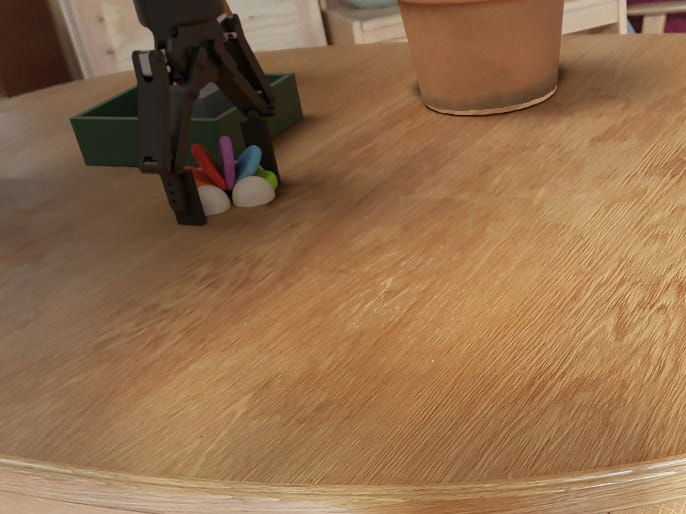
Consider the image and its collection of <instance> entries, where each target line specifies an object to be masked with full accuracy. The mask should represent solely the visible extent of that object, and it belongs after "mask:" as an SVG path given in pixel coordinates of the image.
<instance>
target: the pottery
mask: <svg viewBox="0 0 686 514" xmlns="http://www.w3.org/2000/svg"><path fill="white" fill-rule="evenodd" d="M396 1H397V6H398V9H399V13H400V16H401V21H402V25H403V28H404V32H405V36H406V39H407V44H408V47H409V48H408V49H409V51H410V55H411V59H412V63H413V66H414V67H413V68H414V71H415V75H416V79H417V82H418V85H419V86H418V87H419V90H420V94H421V99H422V98H423V100H422V102H423V101H424V102H423V104H424V103H425V104H427V105H429V106H431V107H434V108H436V109H442V110H443V109H445V110H453V111H469V110H484V109H495V108H504V107H508V106H513V105H518V104H523V103H527V102H530V101H532V100H535V99H538V98H541V97H544V96H545V95H547V94H548V93H550V92H551V91H553V90H554V89H555V87H556V85H557V83H558V79H559V67H560V57H561V56H560V55H561V44H562V34H563V33H562V32H563V20H564V19H563V18H564V10H565V9H564V8H565V0H396ZM425 104H424V105H425Z"/></svg>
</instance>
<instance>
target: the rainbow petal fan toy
mask: <svg viewBox="0 0 686 514" xmlns="http://www.w3.org/2000/svg"><path fill="white" fill-rule="evenodd" d="M219 152H220V166H219V165H218V163H217V162H216V161H215V160H214V158H213V157H212V156H211V155H210V154H209V152H208V151H207V150H206V149H205V148H204V147H203V146H201V145H200V144H194V145H192V147H191V153H192V155H193V156H194V158H195V160H196V161H197V163H198V164H199V166H200V167H201V168H195V167H191V166H185V169H192V171H193V175H194V178H195V182H196V185H197V189H198V192H199V196H200V199H201V203H202V206H203V210H204V213H205V217H208V216H213V215H219V214H222V213H224V212H226V211H228V210H229V209H230V208H231V207H232V204H233V206H235V207H238V208H252V207H256V206H261V205H266V204H268V203H270V202H271V201H273V200H274V199H275V198H276V193H275V190H276V189H277V188H278V186H277V185H278V181H277V178H276V176H275V174H274V173H273V172H271V171H266V170H263V169H262V167H261V166H260V165H259V163H260V160H261V149H260V148H259V147H257V146H255V145H253V146H250V147H248V148H247V149H246V150H245V151H244V152H243V153H242V154H241V156H240V157H239V159H238V160H237V161H235V162H234V154H233V148H232V143H231V139H230V138H229V137H227V136H222V137H221V138H220V139H219ZM225 191H229V192H231V199H232V202H231V199H230V197H229V196H228V194H227V193H226V192H225Z"/></svg>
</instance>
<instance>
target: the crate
mask: <svg viewBox="0 0 686 514" xmlns="http://www.w3.org/2000/svg"><path fill="white" fill-rule="evenodd" d="M264 74H265V76H266V78H267V79H268V81H269V83H270V85H271V87H272V89H273V91H274V93H275V95H276V98H277V101H276V104H275V105H270V106H275V108H276V115H275V117H267V121H268V125H269V129H270V134H271V138H272V140H274V139H276V138H277V137H278V136H280V135H281V134H282V133H284V132H285V131H287V130H288V129H290V128H291V127H293V126H294V125H295V124H297V123H298V122H300V121H301V120H302V119H304V113H303V108H302V102H301V99H300V94H299V88H298V84H297V79H296V73H295V72H264ZM211 82H213V81H211ZM174 83H175V81H174ZM257 92H261V90H257ZM242 120H248V117H244V116H243V115H242V113H241V112H240V111H239V110H238V109H237V108H236V107H235V106H234V107H232V108H231V109H229V110H228V111H226V112H224V113H223V114H221V115H219V116H218V117H216V118H191V125H190V132H189V140H188V147H187V154H186V161H185V166H191V167H195V168H201V167H200V166H199V164H198V163H197V161H196V160H195V158H194V156H193V155H192V153H191V147H192V145H194V144H200V145H201V146H203V147H204V148H205V149H206V150H207V151H208V152H209V154H210V155H211V156H212V157H213V158H214V160H215V161H216V162H217V163H218V165H219V166H220V152H219V139H220V138H221V137H222V136H227V137H229V138H230V139H231V143H232V148H233V154H234V162H235V161H237V160H238V159H239V157H240V156H241V154H242V153H243V152H244V151H245V150H246V147H245V143H244V139H243V135H242V131H241V127H240V123H239V122H240V121H242ZM69 123H70V125H71V127H72V130H73V133H74V136H75V139H76V142H77V146H78V147H79V150H80V153H81V156H82V158H83V162H84V164H85V165H86V166H115V167H116V166H117V167H139V153H138V106H137V84H135V85H133V86H131V87H129V88H127V89H125V90H123V91H120V92H119V93H116V94H115V95H113V96H111V97H109V98H107V99H105V100H103V101H101V102H99V103H97V104H96V105H95V104H94V105H92V106H91V107H89V108H87V109H86V110H83V111H81V112H79V113H78V114H77V113H76V114H75V115H73V116H71V117H69ZM172 158H173V156H172V155H171V160H172ZM152 159H154V157H152Z"/></svg>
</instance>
